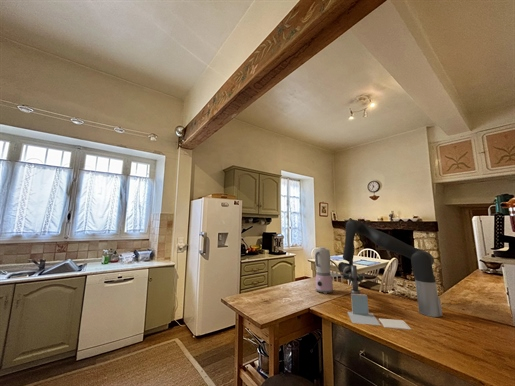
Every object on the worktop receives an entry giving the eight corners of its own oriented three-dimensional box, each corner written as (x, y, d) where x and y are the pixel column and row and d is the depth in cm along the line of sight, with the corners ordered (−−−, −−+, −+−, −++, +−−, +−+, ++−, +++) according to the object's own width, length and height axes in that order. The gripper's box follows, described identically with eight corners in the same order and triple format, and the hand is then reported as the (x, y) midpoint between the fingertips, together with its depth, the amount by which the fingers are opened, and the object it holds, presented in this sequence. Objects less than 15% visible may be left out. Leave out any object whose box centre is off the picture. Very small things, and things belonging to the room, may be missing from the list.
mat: (372, 314, 114) (372, 313, 114) (381, 326, 100) (381, 325, 100) (347, 312, 117) (347, 311, 117) (352, 324, 103) (352, 322, 103)
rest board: (402, 322, 104) (402, 320, 104) (411, 331, 96) (411, 328, 96) (378, 320, 107) (378, 318, 107) (384, 328, 98) (384, 326, 98)
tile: (368, 314, 113) (366, 294, 115) (368, 315, 112) (367, 295, 113) (352, 312, 115) (350, 293, 117) (352, 313, 114) (351, 294, 115)
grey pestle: (359, 296, 123) (357, 264, 126) (361, 299, 119) (359, 266, 121) (350, 295, 125) (348, 264, 127) (352, 298, 120) (350, 266, 122)
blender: (321, 288, 163) (319, 246, 168) (336, 291, 154) (333, 247, 159) (310, 292, 152) (308, 247, 157) (325, 296, 143) (322, 249, 148)
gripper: (338, 266, 139) (342, 272, 122) (361, 267, 136) (368, 273, 119) (339, 278, 138) (343, 286, 121) (362, 279, 135) (369, 287, 118)
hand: (355, 280), depth 120 cm, fingers closed on grey pestle, 3 cm apart
